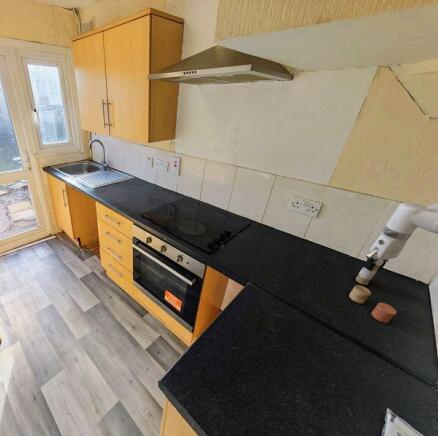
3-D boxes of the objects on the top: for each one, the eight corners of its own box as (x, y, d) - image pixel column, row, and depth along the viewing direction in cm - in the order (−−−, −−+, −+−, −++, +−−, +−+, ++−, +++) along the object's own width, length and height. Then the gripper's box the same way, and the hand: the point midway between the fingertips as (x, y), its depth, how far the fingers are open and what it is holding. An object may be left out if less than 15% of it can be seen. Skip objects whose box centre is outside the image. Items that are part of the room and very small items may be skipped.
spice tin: (355, 292, 97) (361, 284, 94) (367, 302, 93) (374, 293, 90) (345, 294, 96) (351, 286, 93) (357, 304, 92) (364, 295, 89)
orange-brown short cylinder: (377, 310, 89) (384, 301, 87) (392, 321, 85) (400, 312, 82) (367, 312, 88) (374, 303, 86) (382, 324, 84) (389, 315, 81)
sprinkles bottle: (360, 277, 105) (375, 254, 99) (370, 284, 101) (387, 261, 95) (352, 278, 104) (367, 256, 98) (362, 286, 100) (378, 262, 94)
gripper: (390, 240, 84) (365, 276, 93) (423, 236, 88) (396, 271, 97) (369, 230, 91) (348, 264, 100) (401, 226, 94) (377, 260, 103)
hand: (372, 267), depth 98 cm, fingers closed on sprinkles bottle, 4 cm apart
